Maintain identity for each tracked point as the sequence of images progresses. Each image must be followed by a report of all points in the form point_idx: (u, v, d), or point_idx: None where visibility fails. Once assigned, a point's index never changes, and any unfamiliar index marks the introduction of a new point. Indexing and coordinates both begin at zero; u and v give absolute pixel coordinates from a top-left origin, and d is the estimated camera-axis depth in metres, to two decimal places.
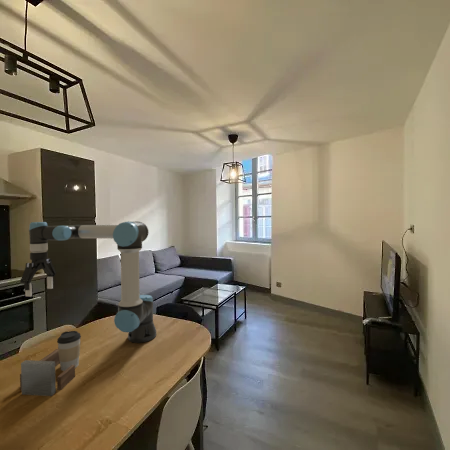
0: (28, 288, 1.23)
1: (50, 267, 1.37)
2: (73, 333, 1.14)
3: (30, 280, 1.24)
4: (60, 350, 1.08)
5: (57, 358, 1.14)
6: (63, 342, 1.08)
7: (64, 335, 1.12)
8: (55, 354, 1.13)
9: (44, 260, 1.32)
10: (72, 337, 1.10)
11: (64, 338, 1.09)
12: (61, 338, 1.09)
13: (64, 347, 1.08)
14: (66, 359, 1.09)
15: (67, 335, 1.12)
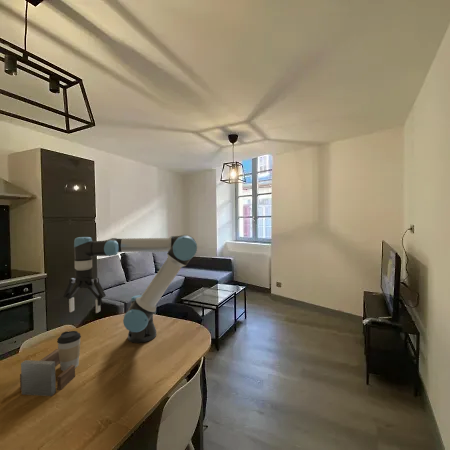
0: None
1: None
2: (73, 333, 1.14)
3: (69, 296, 1.22)
4: (60, 350, 1.08)
5: (57, 358, 1.14)
6: (63, 342, 1.08)
7: (64, 335, 1.12)
8: (55, 354, 1.13)
9: (86, 279, 1.21)
10: (72, 337, 1.10)
11: (64, 338, 1.09)
12: (61, 338, 1.09)
13: (64, 347, 1.08)
14: (66, 359, 1.09)
15: (67, 335, 1.12)
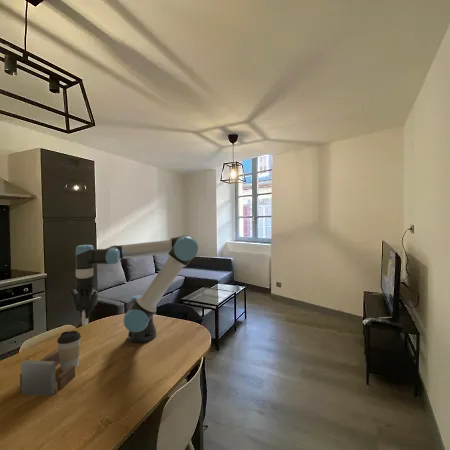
0: (82, 317, 1.22)
1: None
2: (73, 333, 1.14)
3: (81, 308, 1.22)
4: (60, 350, 1.08)
5: (57, 358, 1.14)
6: (63, 342, 1.08)
7: (64, 335, 1.12)
8: (55, 354, 1.13)
9: (89, 286, 1.21)
10: (72, 337, 1.10)
11: (64, 338, 1.09)
12: (61, 338, 1.09)
13: (64, 347, 1.08)
14: (66, 359, 1.09)
15: (67, 335, 1.12)
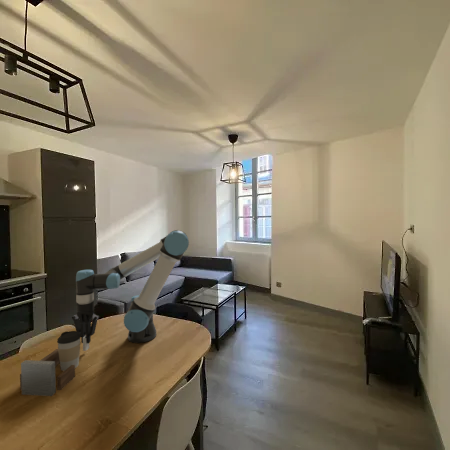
0: (83, 342, 1.23)
1: None
2: (73, 333, 1.14)
3: (82, 333, 1.22)
4: (60, 350, 1.08)
5: (57, 358, 1.14)
6: (63, 342, 1.08)
7: (64, 335, 1.12)
8: (55, 354, 1.13)
9: (89, 312, 1.22)
10: (72, 337, 1.10)
11: (64, 338, 1.09)
12: (61, 338, 1.09)
13: (64, 347, 1.08)
14: (66, 359, 1.09)
15: (67, 335, 1.12)
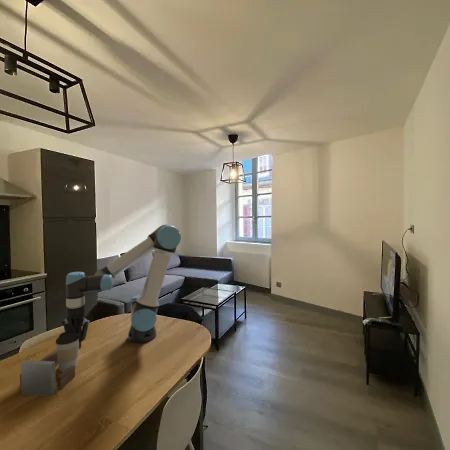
0: None
1: None
2: (72, 334, 1.13)
3: None
4: (58, 351, 1.08)
5: (57, 358, 1.14)
6: (62, 343, 1.07)
7: (62, 336, 1.11)
8: (55, 354, 1.13)
9: (80, 316, 1.16)
10: (71, 338, 1.09)
11: (63, 339, 1.08)
12: (59, 339, 1.08)
13: (63, 348, 1.07)
14: (65, 360, 1.08)
15: (66, 336, 1.11)
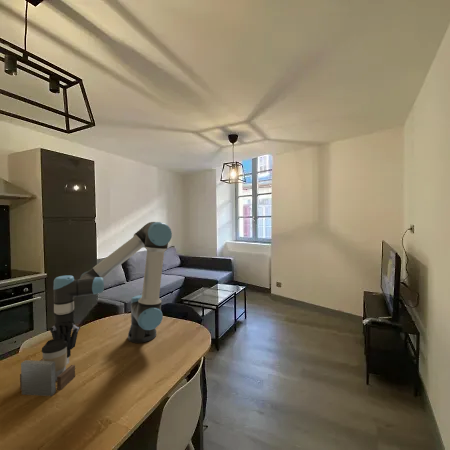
0: None
1: None
2: (59, 341, 1.06)
3: None
4: (44, 360, 1.01)
5: None
6: (47, 351, 1.00)
7: (49, 343, 1.04)
8: None
9: (69, 323, 1.09)
10: (57, 346, 1.02)
11: (48, 347, 1.01)
12: (45, 347, 1.02)
13: (48, 357, 1.01)
14: None
15: (52, 343, 1.04)
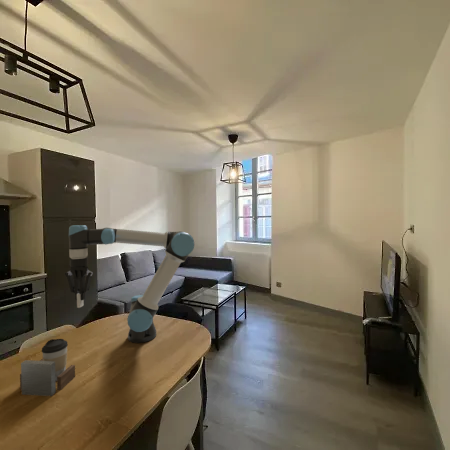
0: (77, 299, 1.19)
1: None
2: (59, 341, 1.06)
3: (76, 290, 1.19)
4: (44, 360, 1.01)
5: None
6: (47, 351, 1.00)
7: (50, 343, 1.04)
8: None
9: (83, 267, 1.18)
10: (57, 346, 1.02)
11: (48, 347, 1.01)
12: (45, 347, 1.02)
13: (48, 357, 1.01)
14: None
15: (53, 343, 1.04)
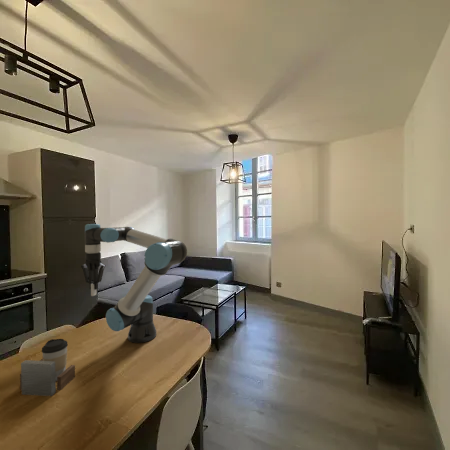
0: (91, 288, 1.36)
1: None
2: (59, 341, 1.06)
3: (90, 280, 1.36)
4: (44, 360, 1.01)
5: None
6: (47, 351, 1.00)
7: (49, 343, 1.04)
8: None
9: (97, 260, 1.35)
10: (57, 346, 1.02)
11: (48, 347, 1.01)
12: (45, 347, 1.02)
13: (48, 357, 1.01)
14: None
15: (52, 343, 1.04)
